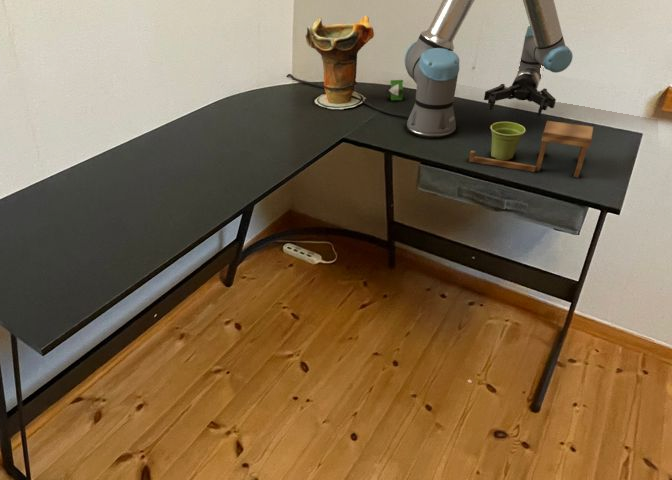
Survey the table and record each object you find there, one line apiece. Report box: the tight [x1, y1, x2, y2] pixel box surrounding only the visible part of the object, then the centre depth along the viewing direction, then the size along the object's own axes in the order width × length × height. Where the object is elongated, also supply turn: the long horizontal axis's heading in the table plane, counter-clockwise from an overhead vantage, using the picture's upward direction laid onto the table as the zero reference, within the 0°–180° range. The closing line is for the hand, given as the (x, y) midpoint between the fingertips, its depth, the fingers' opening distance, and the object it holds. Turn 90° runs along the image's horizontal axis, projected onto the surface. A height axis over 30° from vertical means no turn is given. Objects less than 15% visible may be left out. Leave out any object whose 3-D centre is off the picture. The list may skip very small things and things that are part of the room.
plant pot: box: [490, 121, 526, 161], centre depth 173 cm, size 9×9×9 cm
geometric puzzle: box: [386, 79, 408, 101], centre depth 213 cm, size 7×7×8 cm
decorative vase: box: [305, 15, 375, 110], centre depth 207 cm, size 21×23×28 cm
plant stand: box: [468, 120, 594, 178], centre depth 169 cm, size 30×13×11 cm, turn 64°
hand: (515, 108), depth 176 cm, fingers open, 13 cm apart
